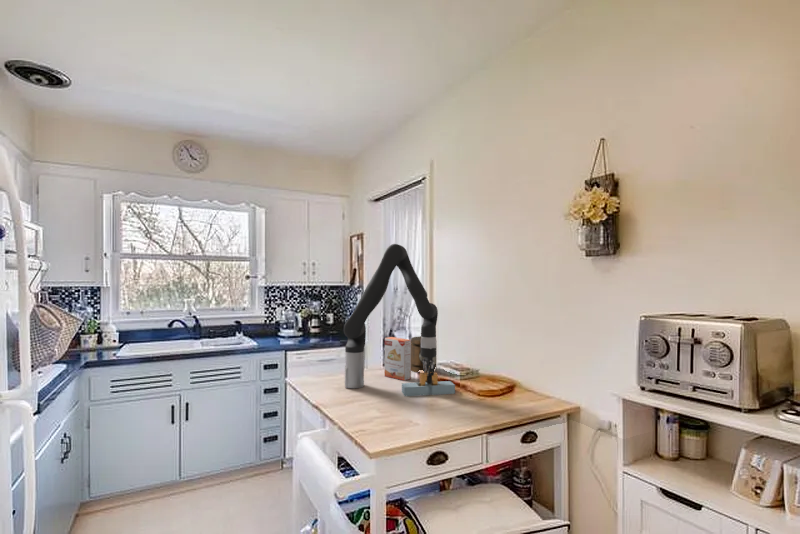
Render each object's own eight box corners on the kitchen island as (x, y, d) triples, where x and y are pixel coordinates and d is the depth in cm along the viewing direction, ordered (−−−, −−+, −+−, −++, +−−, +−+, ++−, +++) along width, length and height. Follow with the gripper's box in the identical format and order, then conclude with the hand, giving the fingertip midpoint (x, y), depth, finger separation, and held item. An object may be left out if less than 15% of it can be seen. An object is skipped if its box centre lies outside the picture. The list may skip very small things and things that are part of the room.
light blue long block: (404, 396, 193) (404, 387, 193) (401, 391, 200) (401, 383, 200) (454, 393, 198) (455, 385, 198) (450, 389, 205) (450, 381, 205)
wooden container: (425, 374, 233) (425, 334, 233) (405, 370, 243) (405, 331, 243) (441, 370, 244) (441, 331, 244) (421, 365, 254) (422, 329, 254)
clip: (421, 388, 197) (421, 374, 197) (419, 386, 200) (419, 372, 200) (437, 387, 199) (437, 373, 199) (435, 385, 202) (435, 372, 202)
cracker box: (383, 376, 228) (384, 337, 228) (391, 374, 233) (391, 336, 233) (403, 381, 219) (404, 340, 219) (411, 378, 224) (411, 339, 224)
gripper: (417, 343, 205) (417, 379, 205) (424, 349, 192) (424, 387, 192) (432, 343, 207) (432, 378, 207) (440, 348, 193) (440, 386, 193)
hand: (428, 382), depth 199 cm, fingers closed on clip, 3 cm apart
